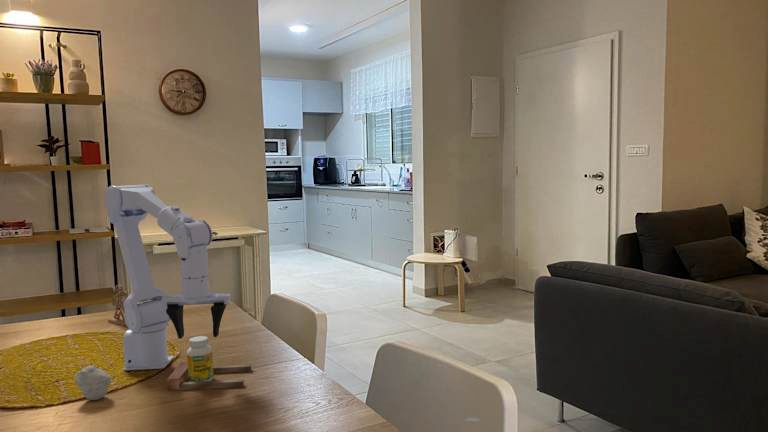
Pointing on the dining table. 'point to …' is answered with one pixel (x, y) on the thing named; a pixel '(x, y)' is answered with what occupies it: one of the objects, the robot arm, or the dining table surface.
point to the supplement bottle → (199, 360)
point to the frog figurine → (93, 382)
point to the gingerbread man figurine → (118, 319)
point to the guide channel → (181, 375)
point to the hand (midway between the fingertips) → (198, 336)
